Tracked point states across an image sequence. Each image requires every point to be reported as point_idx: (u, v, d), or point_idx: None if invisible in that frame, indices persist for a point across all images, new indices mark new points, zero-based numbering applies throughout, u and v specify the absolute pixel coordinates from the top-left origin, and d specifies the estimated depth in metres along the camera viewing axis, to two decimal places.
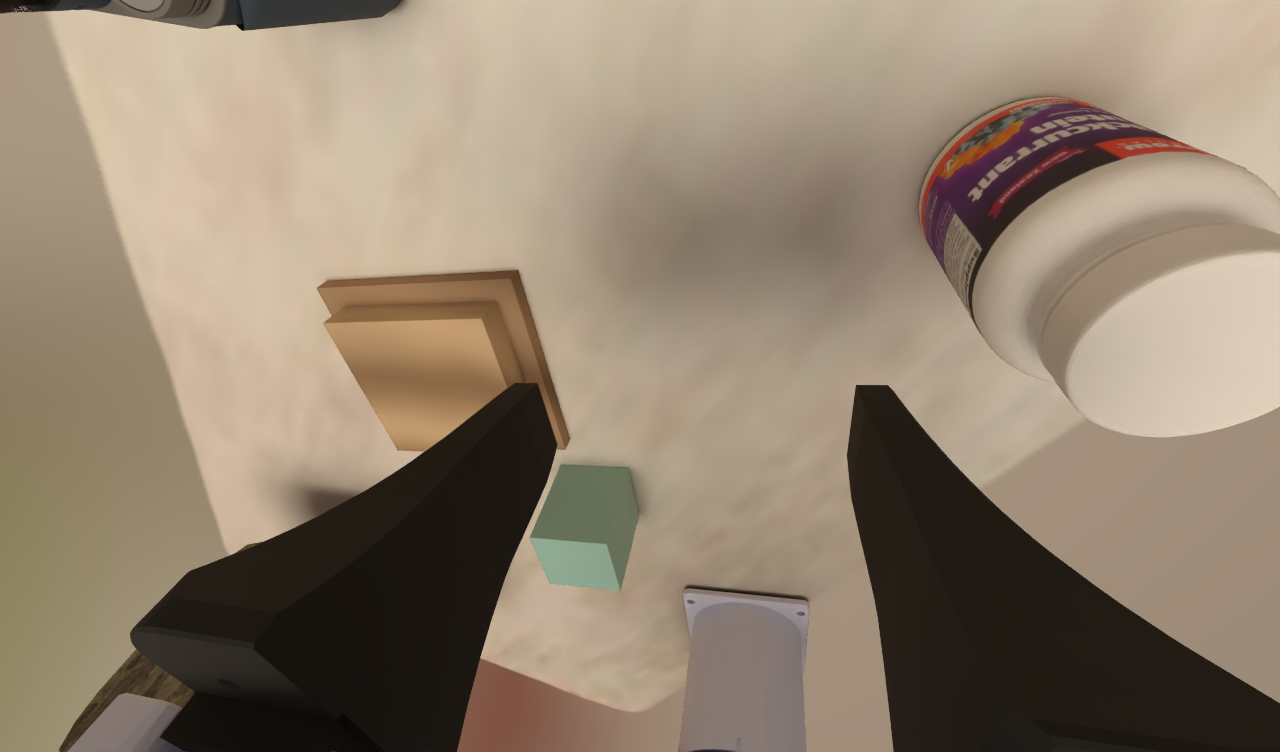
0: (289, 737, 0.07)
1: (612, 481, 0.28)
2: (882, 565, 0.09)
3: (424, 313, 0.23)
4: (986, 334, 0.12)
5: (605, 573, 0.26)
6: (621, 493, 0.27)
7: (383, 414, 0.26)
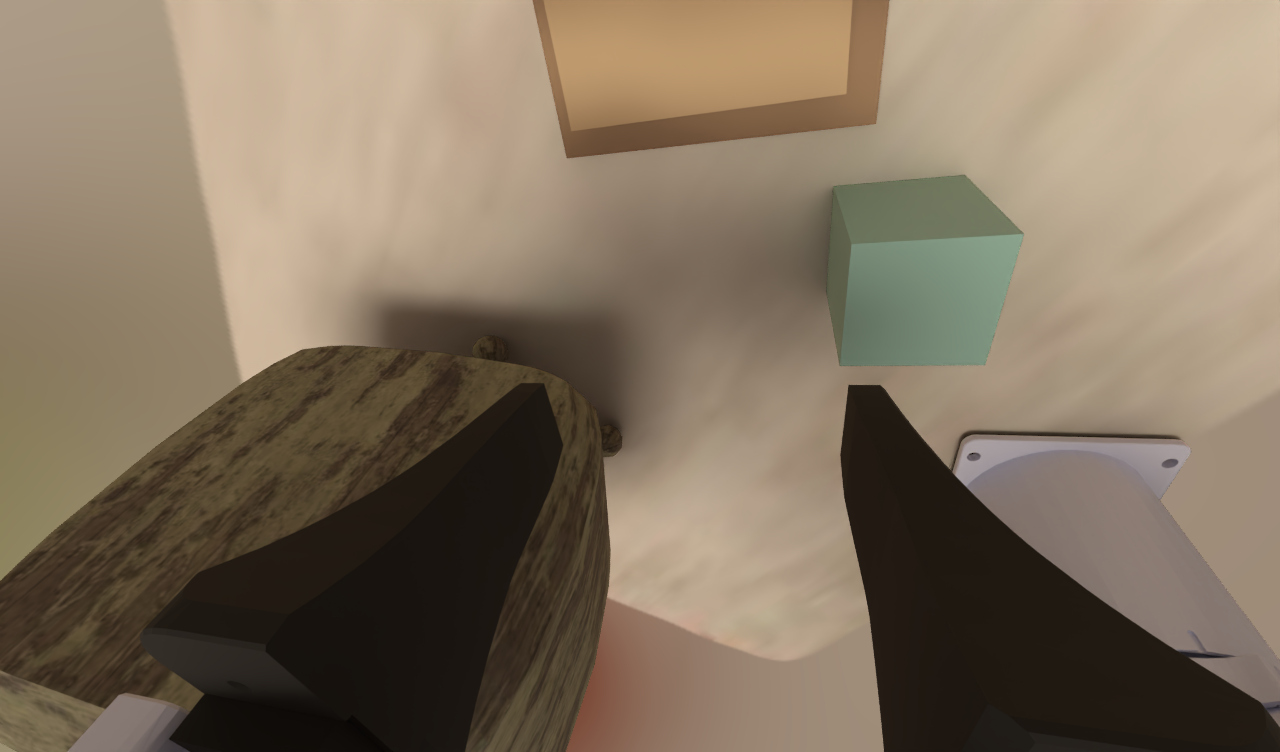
0: (299, 740, 0.07)
1: (950, 187, 0.16)
2: (873, 565, 0.09)
3: None
4: None
5: (975, 322, 0.14)
6: None
7: (564, 30, 0.14)
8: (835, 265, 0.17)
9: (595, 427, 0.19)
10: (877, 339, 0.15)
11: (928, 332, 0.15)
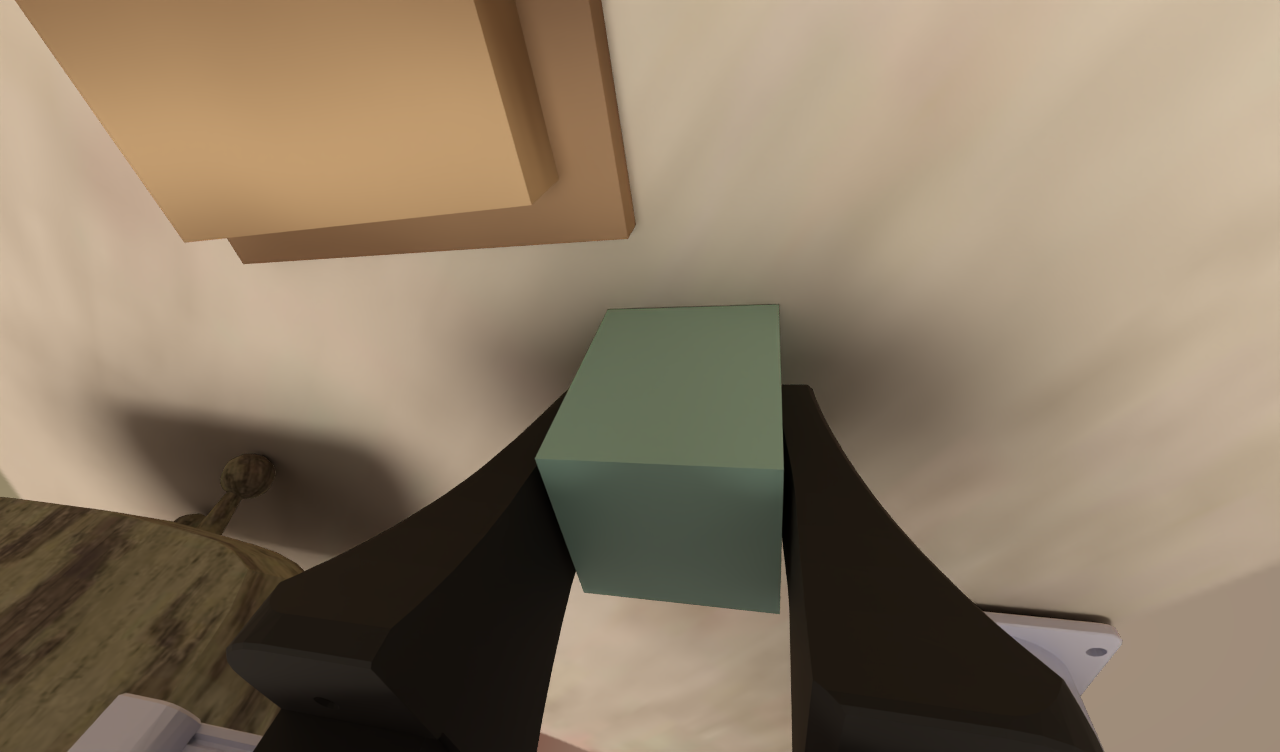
0: None
1: (746, 330, 0.11)
2: (789, 557, 0.09)
3: None
4: None
5: (749, 566, 0.09)
6: (779, 352, 0.10)
7: (106, 104, 0.09)
8: None
9: None
10: (621, 570, 0.10)
11: (687, 570, 0.10)
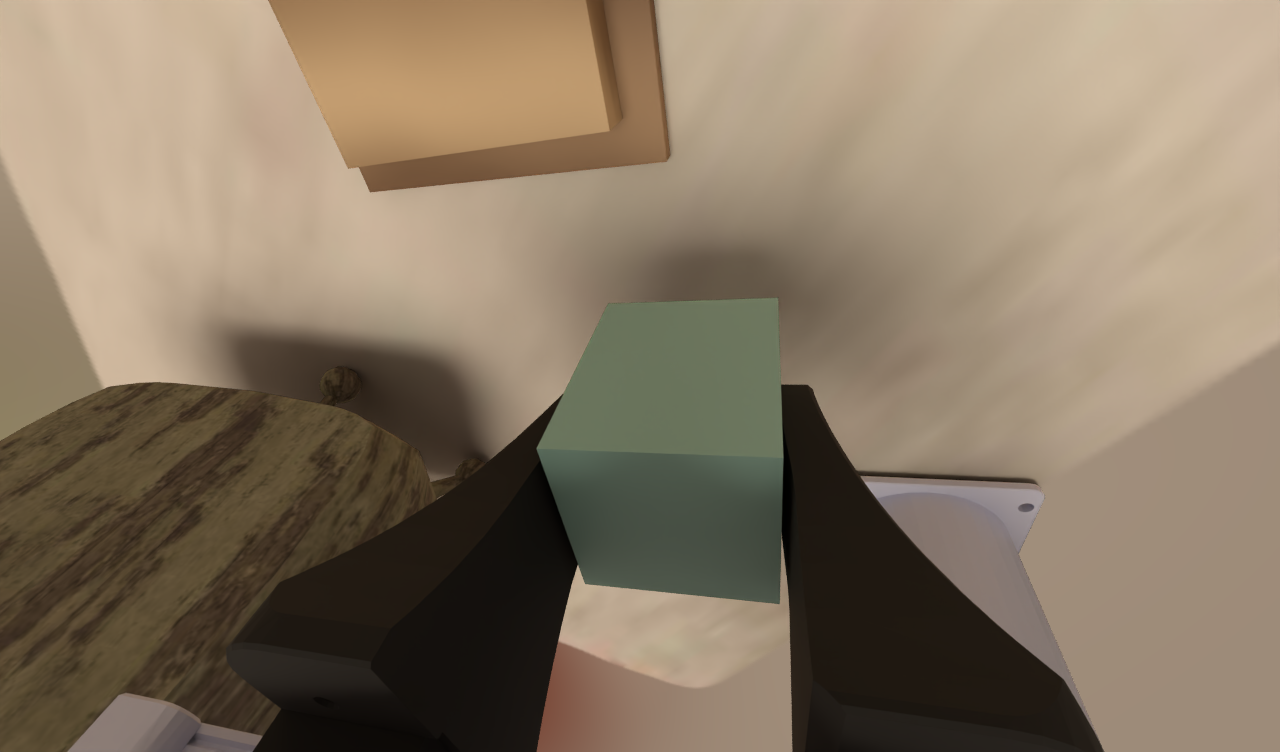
0: None
1: (746, 323, 0.11)
2: (789, 557, 0.09)
3: None
4: None
5: (749, 555, 0.09)
6: (779, 344, 0.10)
7: (313, 64, 0.13)
8: None
9: (407, 473, 0.18)
10: (622, 561, 0.10)
11: (688, 560, 0.10)
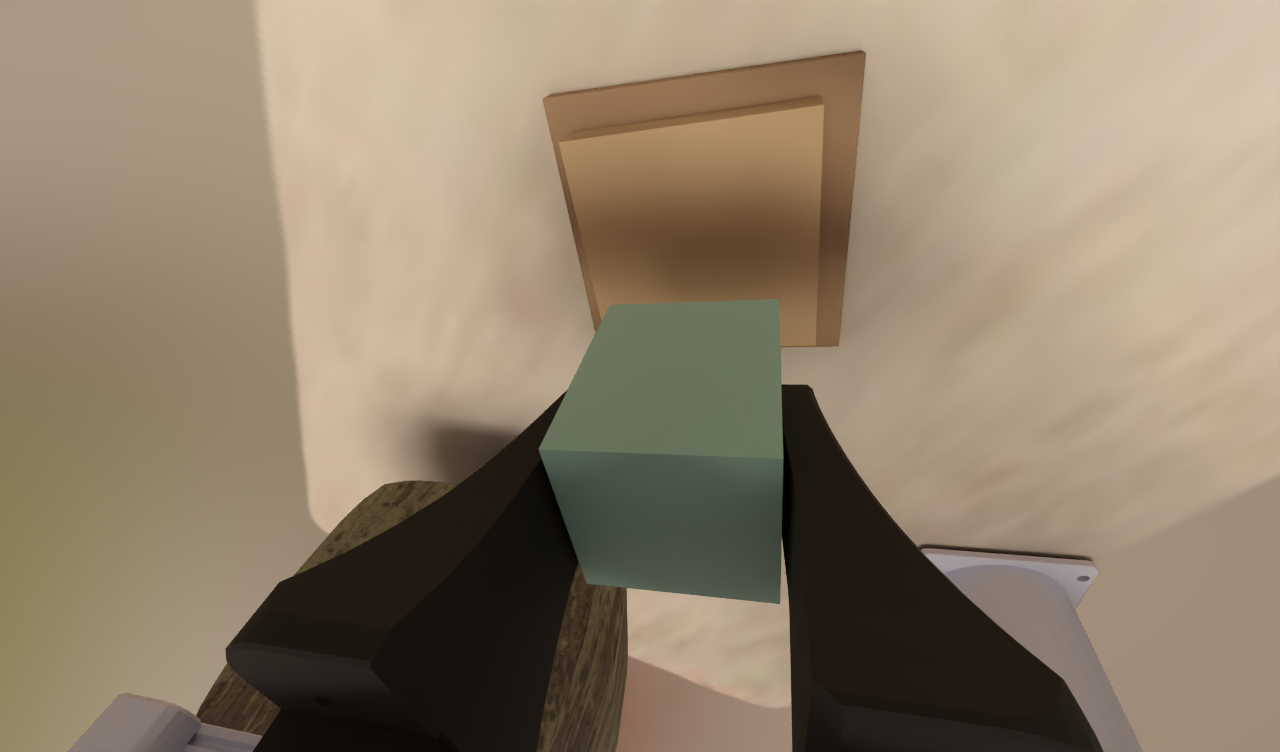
0: None
1: (746, 324, 0.11)
2: (789, 557, 0.09)
3: (715, 116, 0.16)
4: None
5: (750, 555, 0.09)
6: (779, 346, 0.10)
7: (605, 294, 0.19)
8: None
9: None
10: (623, 561, 0.10)
11: (689, 560, 0.10)
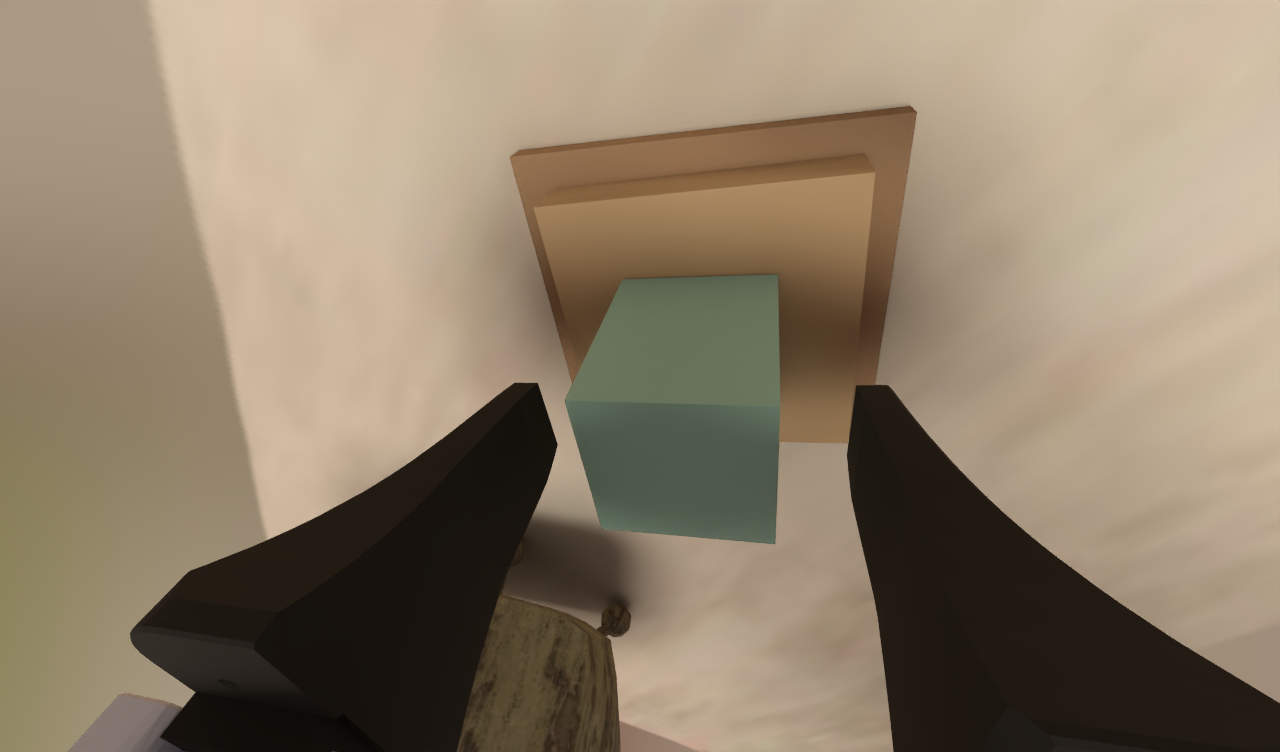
0: (289, 737, 0.07)
1: (748, 296, 0.12)
2: (882, 565, 0.09)
3: (731, 179, 0.12)
4: None
5: (749, 498, 0.11)
6: (778, 314, 0.11)
7: None
8: None
9: (611, 671, 0.20)
10: (636, 505, 0.11)
11: (695, 504, 0.11)
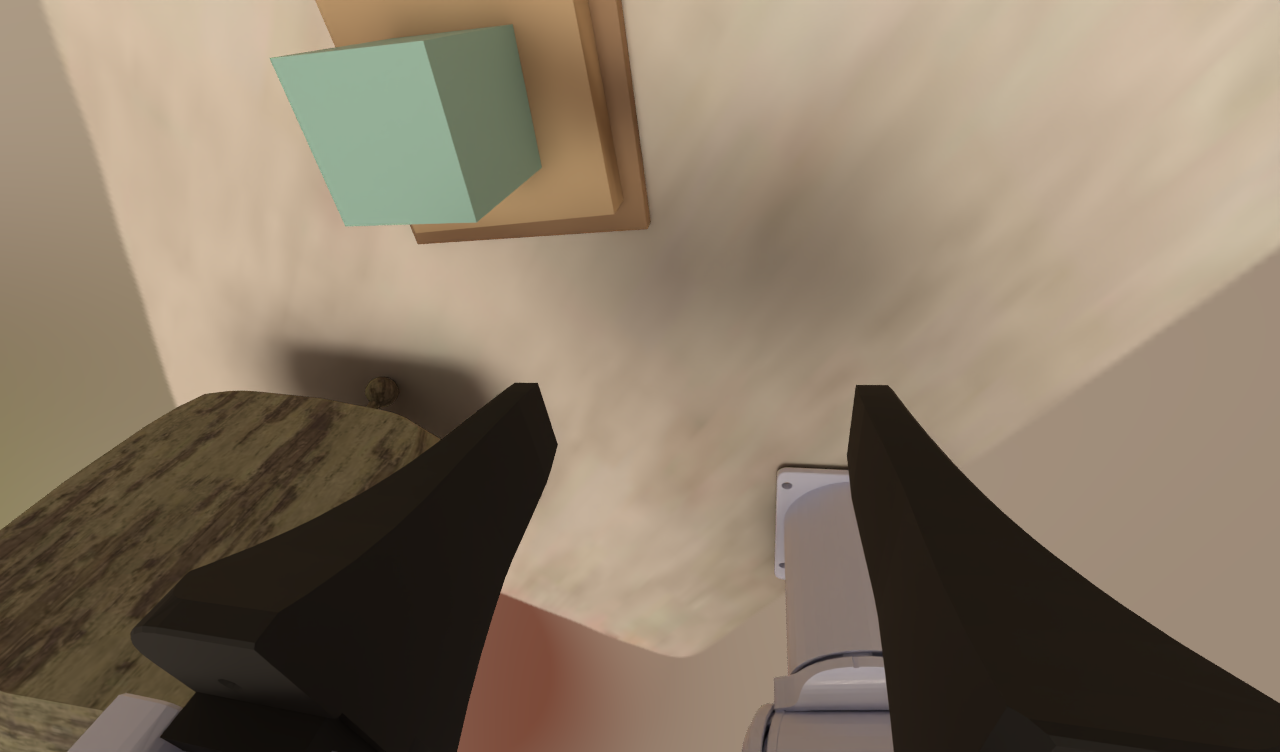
0: (290, 737, 0.07)
1: (474, 29, 0.14)
2: (882, 565, 0.09)
3: None
4: None
5: (439, 164, 0.13)
6: (486, 32, 0.14)
7: None
8: None
9: None
10: (361, 189, 0.14)
11: (403, 179, 0.13)
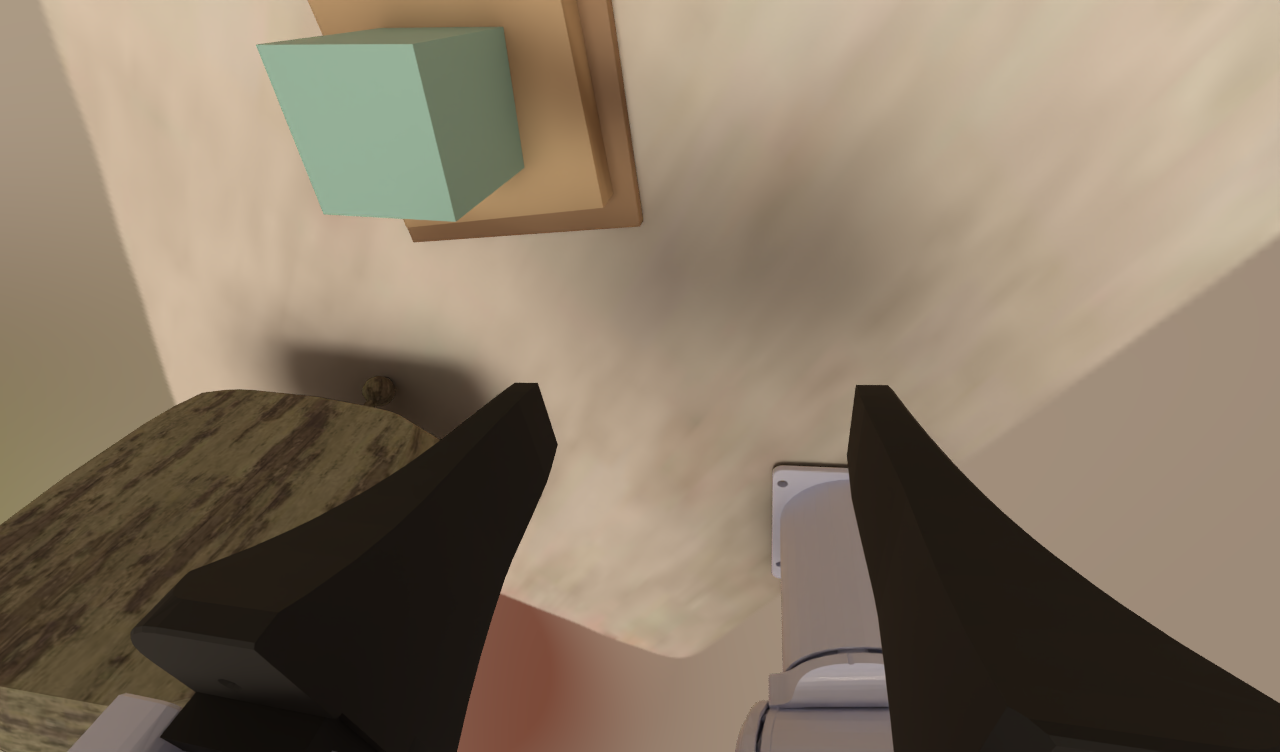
0: (289, 737, 0.07)
1: (465, 29, 0.14)
2: (882, 565, 0.09)
3: None
4: None
5: (421, 163, 0.13)
6: (476, 34, 0.14)
7: None
8: None
9: None
10: (342, 180, 0.14)
11: (384, 174, 0.13)
